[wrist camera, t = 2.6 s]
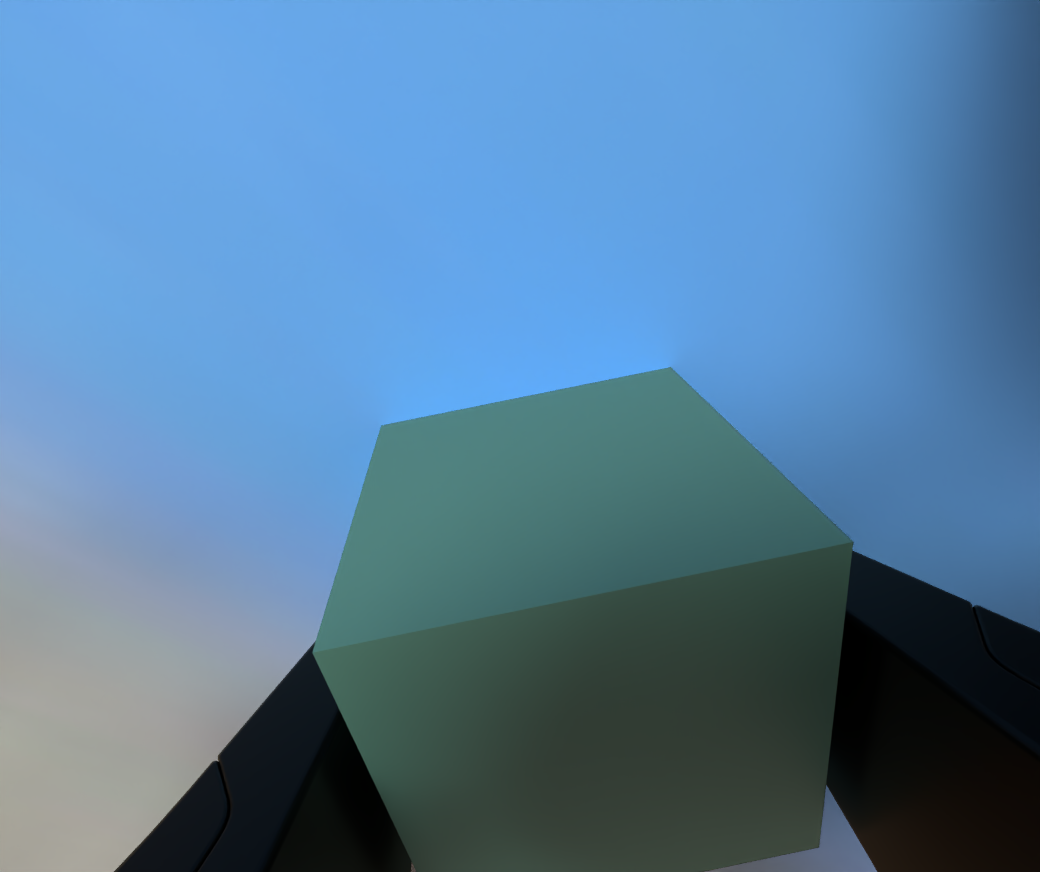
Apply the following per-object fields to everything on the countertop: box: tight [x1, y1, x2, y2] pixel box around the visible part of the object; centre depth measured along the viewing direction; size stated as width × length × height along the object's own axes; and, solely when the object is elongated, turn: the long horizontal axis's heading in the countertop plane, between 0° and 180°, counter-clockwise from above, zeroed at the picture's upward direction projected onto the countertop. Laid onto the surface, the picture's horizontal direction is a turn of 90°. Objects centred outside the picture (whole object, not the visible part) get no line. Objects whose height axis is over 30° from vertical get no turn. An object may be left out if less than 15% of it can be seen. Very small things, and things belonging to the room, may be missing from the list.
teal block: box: [312, 367, 853, 872], centre depth 8 cm, size 4×4×4 cm
